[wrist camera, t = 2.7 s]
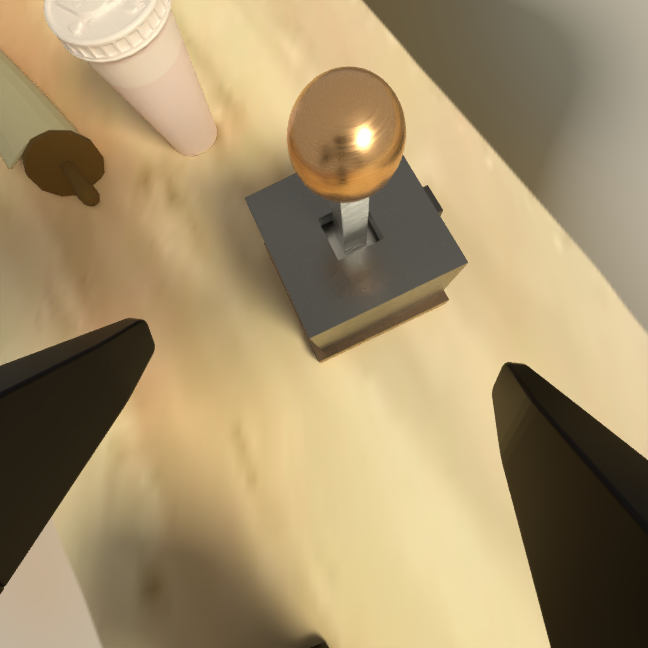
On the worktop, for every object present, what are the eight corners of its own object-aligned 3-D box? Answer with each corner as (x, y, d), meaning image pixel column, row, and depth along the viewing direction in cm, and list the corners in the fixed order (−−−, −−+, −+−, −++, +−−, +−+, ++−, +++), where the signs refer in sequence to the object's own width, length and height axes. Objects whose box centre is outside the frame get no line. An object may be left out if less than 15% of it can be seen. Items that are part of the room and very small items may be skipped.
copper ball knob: (324, 315, 17) (285, 232, 8) (280, 223, 18) (201, 58, 9) (426, 266, 17) (507, 125, 8) (375, 177, 18) (393, -37, 9)
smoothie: (153, 110, 27) (-63, -179, 13) (228, 91, 26) (88, -228, 13) (159, 179, 25) (-73, -60, 12) (238, 161, 25) (94, -110, 11)
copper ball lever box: (320, 363, 22) (304, 353, 15) (267, 248, 23) (232, 194, 17) (449, 301, 21) (490, 264, 15) (385, 191, 23) (396, 114, 17)
